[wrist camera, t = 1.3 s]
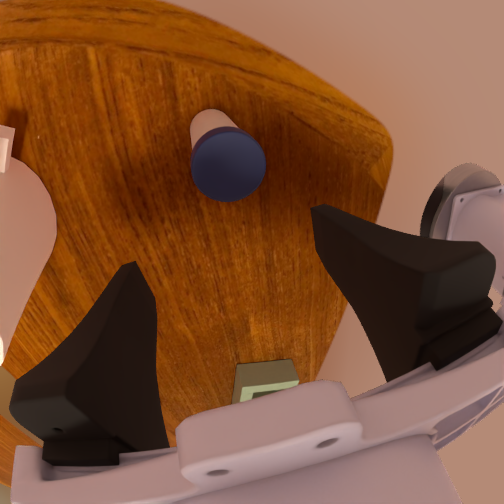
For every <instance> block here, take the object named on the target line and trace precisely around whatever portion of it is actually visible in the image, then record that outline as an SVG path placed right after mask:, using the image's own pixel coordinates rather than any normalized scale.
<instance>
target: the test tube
mask: <svg viewBox="0 0 504 504" xmlns="http://www.w3.org/2000/svg"><path fill="white" fill-rule="evenodd" d="M190 134H191V142H192V153H191V159H190V160H191V173H192V177H193V181H194V183H195V185H196V186H197V188H198V189H199V190H200V191H201V192H202V193H203V194H204V195H206V196H207V197H209V198H211V199H213V200H216V201H221V202H232V201H237V200H240V199H243V198H245V197H247V196H249V195H250V194H251V193H253V192H254V191H255V190H256V189H257V187H258V186H259V185H260V183H261V182H262V180H263V177H264V175H265V170H266V159H265V155H264V152H263V150H262V148H261V146H260V145H259V144H258V142H257V141H256V140H255V139H254V138H253V137H252V136H251V135H250V134H248V133H247V132H245V131H244V130H242V129H239V128H238V127H237V126H236V125H235V124H234V123H233V122H232V121H231V119H230V118H229V117H228V116H227V115H226V114H224V113H223V112H221V111H219V110H216V109H207V110H204V111H202V112H200V113H198V114H197V115H196V116H195V117H194V119H193V120H192V122H191V126H190Z"/></svg>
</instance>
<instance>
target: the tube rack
mask: <svg viewBox="0 0 504 504" xmlns="http://www.w3.org/2000/svg"><path fill="white" fill-rule="evenodd" d="M298 382H299V378H298V375H297V373H296V370H295V367H294V365H293V362H292V359H286V360H277V361H268V362H258V363H248V364H237V368H236V376H235V383H234V391H233V397H232V404H236V403H239V402H243V401H247V400H250V399H254V398H258V397H261V396H265V395H268V394H271V393H275V392H278V391H281V390H284V389H287V388H291V387H294V386H297V385H298Z"/></svg>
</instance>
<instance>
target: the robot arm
mask: <svg viewBox="0 0 504 504" xmlns="http://www.w3.org/2000/svg"><path fill="white" fill-rule="evenodd" d="M311 216H312V224H313V231H314V239H315V248H316V251H317V253H318V255H319V257H320V259H321V261H322V263H323V265H324V267H325V269H326V270H327V272H328V273H329V274H330V276H331V277H332V279H333V280H334V282H335V283H336V285H337V286H338V287H339V289H340V290H341V292H342V293H343V295H344V296H345V298H346V299H347V300H348V302H349V303H350V305H351V306H352V308H353V309H354V311H355V313H356V315H357V317H358V319H359V320H360V322H361V324H362V326H363V328H364V330H365V332H366V334H367V336H368V339H369V341H370V343H371V345H372V347H373V349H374V352H375V354H376V356H377V359H378V361H379V364H380V366H381V368H382V371H383V373H384V375H385V378H386V381H387V383H385V384H383V385H381V386H379V387H377V388H374V389H372V390H370V391H367V392H365V393H362V394H360V395H358V396H355V397H353V398H351V399H350V398H349V396H348V393H347V391H346V389H345V388H344V386H343V384H342V383H341V382H336V381H328V380H318V381H313V382H308V383H303V384H300V385H297V386H294V387H291V388H287V389H284V390H281V391H278V392H275V393H271V394H268V395H265V396H261V397H258V398H254V399H250V400H247V401H243V402H239V403H236V404H232V405H228V406H224V407H220V408H215V409H211V410H207V411H203V412H200V413H198V414H195V415H192V416H190V417H187V418H186V419H185V420H183V422H182V423H181V424H180V425H179V426H178V427H177V428H176V429H175V430H176V441H177V447H171V448H170V446H169V442H168V438H167V434H166V430H165V425H164V421H163V416H162V410H161V404H160V398H159V392H158V383H157V375H156V345H157V310H156V301H155V297H154V295H153V293H152V291H151V289H150V288H149V286H148V284H147V282H146V280H145V278H144V276H143V274H142V272H141V271H140V269H139V267H138V265H137V263H136V261H134V262H130V263H127V264H124V265H122V266H121V267H120V268H119V270H118V271H117V272H116V274H115V275H114V276H113V278H112V279H111V281H110V282H109V284H108V285H107V287H106V288H105V289H104V291H103V292H102V294H101V295H100V297H99V298H98V300H97V301H96V302H95V304H94V305H93V306H92V308H91V309H90V310H89V312H88V313H87V315H86V316H85V317H84V318H83V320H82V321H81V322H80V323H79V325H78V326H77V327H76V328H75V329H74V330H73V332H72V333H71V334H70V335H69V336H68V337H67V338H66V339H65V340H64V341H63V342H62V343H61V344H60V345H59V346H58V347H57V348H56V349H55V350H54V351H53V352H52V353H51V354H50V355H48V356H47V357H46V358H45V359H44V360H43V361H41V362H40V363H39V364H38V365H37V366H35V367H34V368H33V369H31V370H30V371H29V372H27V373H26V374H24V375H23V376H22V377H20V378H19V379H17V380H16V382H15V385H14V389H13V393H12V397H11V401H10V405H9V410H10V413H11V415H12V416H13V417H14V419H15V420H16V421H17V422H18V423H19V424H21V425H22V426H23V427H24V428H26V429H27V430H29V431H30V432H31V433H33V434H34V435H36V436H37V437H38V438H40V439H41V440H43V441H44V446H43V448H40V447H37V446H21V445H18V446H16V451H15V458H14V466H13V475H12V485H11V502H12V503H13V504H463V503H462V501H461V499H460V497H459V495H458V492H457V490H456V488H455V487H454V484H453V482H452V480H451V478H450V476H449V474H448V472H447V470H446V468H445V466H444V464H443V463H442V461H441V459H440V457H439V455H438V453H437V451H439V450H440V449H442V448H443V447H445V446H446V445H448V444H449V443H451V442H452V441H454V440H455V439H456V438H458V437H459V436H461V435H462V434H463V433H465V432H466V431H468V430H469V429H470V428H472V427H473V426H474V425H476V424H477V423H478V422H480V421H481V420H482V419H484V418H485V417H486V416H487V415H489V414H490V413H491V412H492V411H494V410H495V409H496V408H497V407H498V406H499V405H501V404H502V403H503V402H504V185H498V186H494V187H489V188H485V189H480V190H476V191H471V192H467V193H462V194H458V195H456V196H455V197H454V198H453V204H452V210H451V215H450V221H449V226H448V231H447V236H446V240H442V239H434V238H427V237H422V236H416V235H411V234H407V233H403V232H399V231H396V230H392V229H389V228H386V227H382V226H380V225H377V224H374V223H371V222H369V221H366V220H363V219H361V218H359V217H356V216H354V215H351V214H349V213H347V212H344V211H342V210H340V209H337V208H335V207H332V206H330V205H327V204H322V205H319V206H315V207H311ZM491 286H492V287H493V288H494V289H495V290H496V291H497V292H498V293H499V294H500V295H501V296H502V297H503V298H502V300H501V302H500V304H501V305H502V307H501V308H500V309H499V310H498V311H497V312H496V313H495V312H494V311H493V309H492V308H491V307H492V305H493V301H492V300H491V299H490V298H489V297H488V293H489V290H490V287H491Z"/></svg>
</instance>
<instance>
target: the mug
mask: <svg viewBox="0 0 504 504" xmlns="http://www.w3.org/2000/svg"><path fill="white" fill-rule="evenodd" d="M14 133H15V128H11V127H7V126H3V125H0V365H1V364H2V362H3V361H4V358H5V355H6V352H7V350H8V347H9V344H10V342H11V339H12V336H13V334H14V331H15V329H16V326H17V324H18V322H19V319H20V317H21V315H22V312H23V310H24V308H25V305H26V303H27V301H28V299H29V297H30V295H31V292H32V290H33V288H34V286H35V284H36V282H37V280H38V278H39V276H40V274H41V272H42V270H43V268H44V266H45V264H46V262H47V260H48V259H49V257H50V255H51V253H52V251H53V247H54V243H55V240H56V236H57V227H56V213H55V210H54V207H53V204H52V200H51V197H50V194H49V193H48V191H47V190H46V188H45V186H44V185H43V183H42V181H41V180H40V178H39V176H37V175H36V174H35V173H34V172H33V171H32V170H31V169H30V168H29V167H28V166H27V165H26V164H25V163H23V162H21V161H19V160H17V159H15V158H13V157H11V151H12V144H13V138H14Z"/></svg>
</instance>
